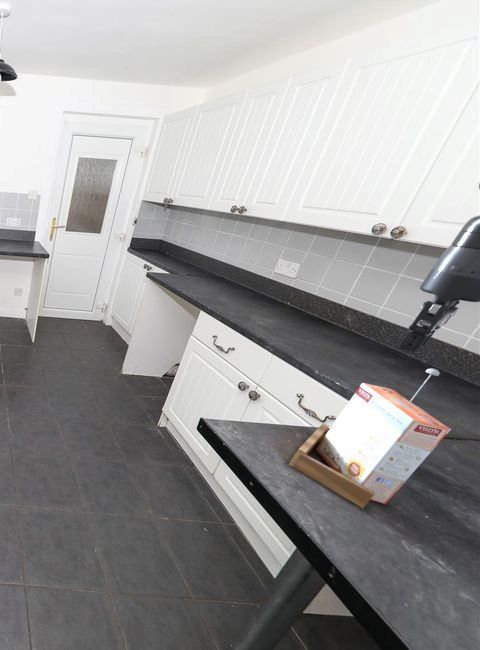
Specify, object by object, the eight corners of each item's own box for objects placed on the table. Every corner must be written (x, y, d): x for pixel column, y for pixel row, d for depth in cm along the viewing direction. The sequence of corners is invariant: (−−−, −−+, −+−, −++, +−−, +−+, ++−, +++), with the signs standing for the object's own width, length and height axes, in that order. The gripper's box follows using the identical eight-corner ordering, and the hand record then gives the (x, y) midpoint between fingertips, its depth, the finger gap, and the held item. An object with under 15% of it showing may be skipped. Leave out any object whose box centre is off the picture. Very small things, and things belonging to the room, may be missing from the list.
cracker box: (387, 506, 69) (454, 429, 61) (351, 495, 71) (412, 419, 63) (344, 457, 82) (395, 388, 74) (314, 449, 83) (361, 380, 75)
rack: (313, 437, 88) (323, 422, 86) (381, 472, 78) (393, 456, 76) (288, 464, 78) (299, 448, 76) (362, 508, 68) (376, 491, 66)
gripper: (494, 281, 56) (433, 362, 63) (503, 276, 63) (446, 349, 69) (425, 268, 62) (375, 343, 69) (440, 265, 69) (393, 334, 75)
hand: (411, 346), depth 69 cm, fingers open, 8 cm apart
